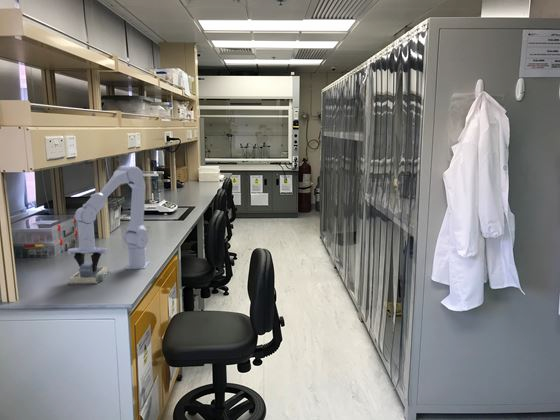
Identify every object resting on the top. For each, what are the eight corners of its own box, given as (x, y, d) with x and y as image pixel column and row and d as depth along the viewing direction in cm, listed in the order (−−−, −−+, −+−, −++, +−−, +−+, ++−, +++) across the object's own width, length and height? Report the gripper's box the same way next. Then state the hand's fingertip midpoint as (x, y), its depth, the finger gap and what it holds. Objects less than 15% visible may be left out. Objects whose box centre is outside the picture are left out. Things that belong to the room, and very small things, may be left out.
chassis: (82, 272, 183) (81, 266, 183) (111, 272, 184) (110, 266, 184) (67, 284, 169) (67, 278, 168) (99, 284, 170) (98, 277, 169)
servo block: (88, 273, 181) (87, 260, 180) (98, 273, 181) (97, 260, 180) (79, 281, 171) (78, 267, 170) (89, 280, 171) (88, 267, 170)
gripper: (63, 240, 169) (66, 274, 172) (102, 240, 170) (104, 273, 173) (70, 236, 176) (73, 269, 178) (107, 236, 177) (109, 268, 180)
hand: (88, 271), depth 176 cm, fingers closed on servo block, 4 cm apart
